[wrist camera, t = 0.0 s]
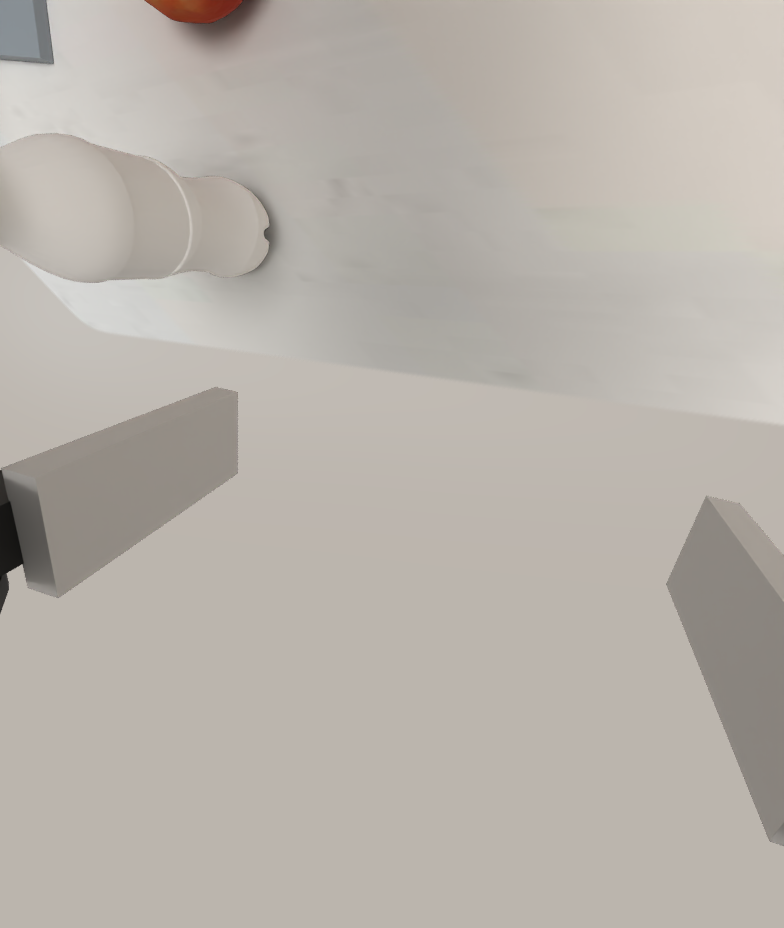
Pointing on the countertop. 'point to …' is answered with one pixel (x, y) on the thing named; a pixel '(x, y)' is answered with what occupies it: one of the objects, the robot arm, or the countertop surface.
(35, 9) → the frame
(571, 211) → the countertop surface
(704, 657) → the robot arm
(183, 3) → the tomato
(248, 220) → the water bottle
